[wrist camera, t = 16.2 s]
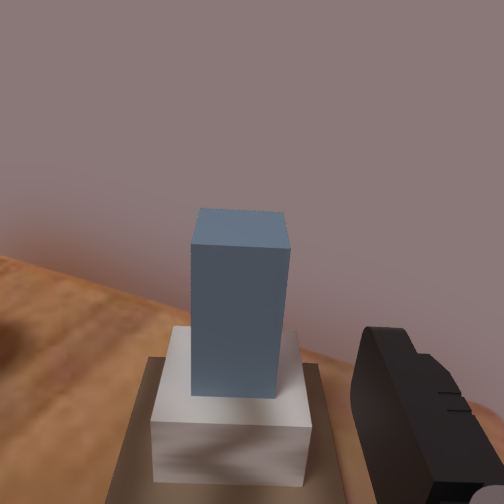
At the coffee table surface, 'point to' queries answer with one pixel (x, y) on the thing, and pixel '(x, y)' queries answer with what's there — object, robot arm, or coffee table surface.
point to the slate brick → (237, 302)
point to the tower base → (167, 494)
